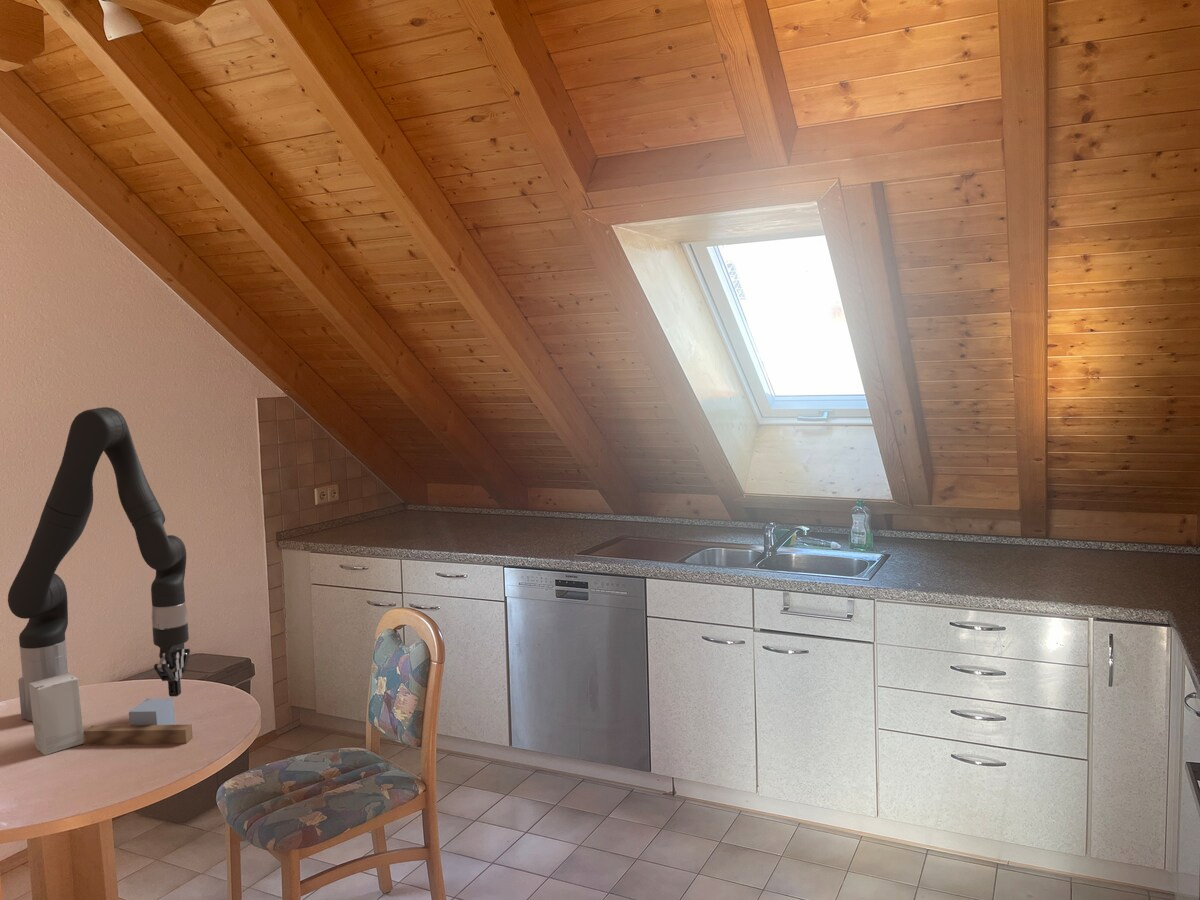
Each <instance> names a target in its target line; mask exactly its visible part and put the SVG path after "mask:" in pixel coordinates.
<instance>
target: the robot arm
mask: <svg viewBox="0 0 1200 900" xmlns="http://www.w3.org/2000/svg"><path fill="white" fill-rule="evenodd" d="M63 451H64V452H63V456H62V460H61V463H60V465H59V469H58V470H57V473H56V476H55V477H54V481H53V484H52V486H51V488H50V492H49V494H48V497H47V499H46V501H45V503H44V506H43V509H42V512H41V515H40V518H39V521H38V524H37V527H36V529H35V533H34V535H33V538H32V539H31V543H30V545H29V548H28V550H27V553H26V555H25V557H24V560H23V562H22V564H21V566H20V567H19V570H18V572H17V573H16V576H15V577H14V580H13V582H12V584H11V585H10V588H9V590H8V594H7V604H8V607H9V611H10V612H11V613H12V614H13V615H14V616H15V617H17V618H19V619H24V620H28V621H27V623H26V625H25V627H24V628H23V630H22V631H21V632H20V633H19V636H18V644H19V652H20V653H19V655H20V664H21V677H20V678H18V681H17V682H18V692H19V706H20V716H21V720H27V721H29V722H33V718H32V709H31V701H30V692H29V683H32V682H36V681H40V680H44V679H47V678H51V677H55V676H58V675H62V674H65V673H69V666H68V657H67V642H66V632H67V628H68V626H69V625H68V624H69V609H68V607H69V606H68V605H69V604H68V602H69V601H68V591H67V587H66V584H65V583H64V580H63V579H62V577H60V576H59V575H58V574H57V573H56V571H57V568H58V567H59V565H60V564H61V562H62V561H63V560H64V558H65V557H66V555H67V554H68V553H69V552H70V550H71V549H72V548H74V547H73V546H74V545H75V544H76V543H77V541H78V540H79V538H81V536H82V534H83V532H84V530H85V528H86V525H87V522H88V520H89V518H90V515H91V513H92V510H93V509H92V508H93V504H94V487H93V482H94V481H93V480H94V475H95V471H96V468H97V465H98V463H99V461H100V458H101V456H102V455H103V452H104V454H105V455H106V456H107V459H108V460H109V462H110V464H111V466H112V469H113V472H114V474H115V479H116V488H117V494H118V498H119V501H120V503H121V504H120V505H121V506H122V508H123V510H124V512H125V514H126V518H128V521H129V523H130V524H131V526H132V528H133V530H134V533H135V537H136V538H135V539H136V541H137V544H138V547H139V551H140V555H141V557H142V559H143V561H144V562H145V563H146V565H148V566H149V568H151V569H153V570H155V578H154V579H153V581H152V583H151V585H150V587H151V588H150V594H151V595H150V597H151V625H152V626H151V627H152V641H153V644H154V646H156V647H158V648H159V654H158V655H159V656H158V658H159V662H158V663H155V664H154V666H153V668H154V670H155V671H156V674H157V675H158V677H159V678H160V679H161V681H162V682H167V685H168V696H169V697H170V698H171V697H178V696H180V695H181V693H182V686H181V679H182V677H183V674H185V673H186V669H187V665H188V661H189V657H190V653H191V649H190V648H185V644H186V643H187V642H188V641H189V639H190V638H189V636H190V635H189V621H188V620H189V619H188V610H187V605H186V596H185V595H186V594H185V584H184V583H185V582H184V580H185V575H186V569H187V568H186V566H187V551H186V550H187V549H186V545H185V544H184V542H183V540H182V539H181V538H179V536H176V535H174V534H173V535H172V534H171V535H170V534H169V535H168V534H167V532H166V530H165V527H164V524H165V522H166V517H165V514H164V511H163V510H162V507H161V506H160V504H159V502H158V499H157V498H156V496H155V494H154V492H153V490H152V488H151V486H150V484H149V482H148V480H147V478H146V475H145V473H144V470H143V467H142V465H141V462H140V459H139V455H138V454H137V450H136V448H135V444H134V441H133V438H132V435H131V431H130V427H129V425H128V423H127V421H126V418H125V417H124V415H123V414H122V413H121V412H120V411H118V410H117V409H115V408H112V407H107V406H104V407H97V408H91V409H86V410H83V411H82V412H79V413H78V414H77V415H76V416H75V417H74V419H73V421H72V422H71V424H70V427H69V430H68V434H67V438H66V443H65V448H64V450H63Z"/></svg>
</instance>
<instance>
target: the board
mask: <svg viewBox="0 0 1200 900" xmlns="http://www.w3.org/2000/svg"><path fill="white" fill-rule="evenodd" d="M83 731H84V741H85V743H84V745H85V746H87V745H92V746H93V745H95V746H97V745H153V744H155V745H156V744H157V745H159V744H161V745H162V744H163V745H164V744H165V745H166V744H170V745H171V744H173V745H174V744H188V743H189V742H191V740H192V739H193V737H194V736H193V724H192V723H191V724H189V723H188V724H174V725H130V724H125V725H120V724H119V725H118V724H117V725H91V726H90V727H87V729H85V730H83Z"/></svg>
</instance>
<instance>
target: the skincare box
mask: <svg viewBox="0 0 1200 900" xmlns="http://www.w3.org/2000/svg"><path fill="white" fill-rule="evenodd" d="M79 681H80V680H79V678H78V677H76V676H75V675H73V674H71V673H70V672H68V673H65V674H62V675H58V676H55V677H51V678H47V679H44V680H40V681H36V682H32V683H29V692H30V701H31V709H32V718H33V721H32V726H33V733H34V743H35V749H37V751H38V752H40V753H41V754H42V755H44V756H47V755H50V754H54V753H57V752H60V751H64V750H67V749H71V748H72V747H77V746H79V745H82V744H85V735H84V731H85V730H84V725H83V715H82V714H83V713H82V704H81V694H80V684H79Z"/></svg>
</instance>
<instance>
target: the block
mask: <svg viewBox="0 0 1200 900" xmlns="http://www.w3.org/2000/svg"><path fill="white" fill-rule="evenodd" d="M174 703H175V702H174V698H171V697H170V698H164V697H163V698H146V699H144V700H143V701H142V702H140V703H139V704H137V705H136V706H135V707H133V708H131V710H129V711H128V717H129V718H128V719H129V725H176V720H175V704H174Z"/></svg>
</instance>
